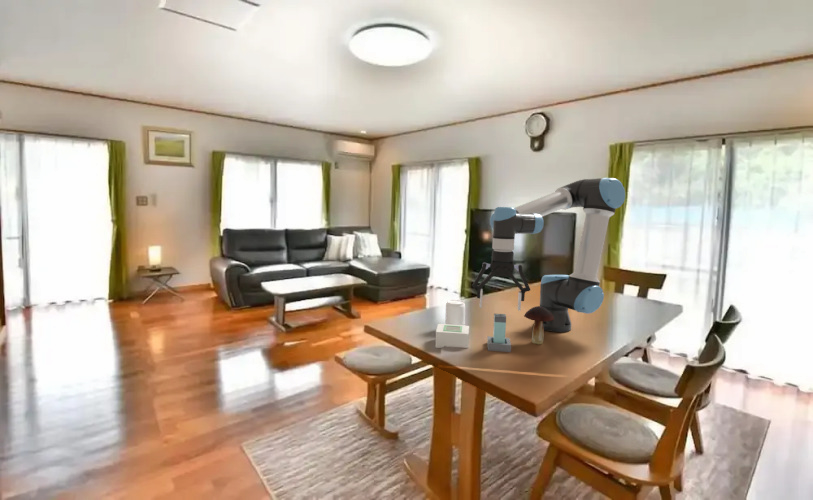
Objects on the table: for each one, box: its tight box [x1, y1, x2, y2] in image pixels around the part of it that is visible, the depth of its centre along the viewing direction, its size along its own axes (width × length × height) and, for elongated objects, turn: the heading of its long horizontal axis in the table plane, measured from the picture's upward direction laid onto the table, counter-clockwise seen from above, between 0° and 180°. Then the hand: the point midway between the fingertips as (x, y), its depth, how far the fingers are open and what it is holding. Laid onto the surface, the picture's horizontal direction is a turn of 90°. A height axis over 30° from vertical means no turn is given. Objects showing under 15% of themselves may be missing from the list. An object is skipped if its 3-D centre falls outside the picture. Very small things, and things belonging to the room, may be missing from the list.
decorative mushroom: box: [523, 305, 554, 345], centre depth 151 cm, size 11×11×15 cm
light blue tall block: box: [492, 313, 507, 344], centre depth 146 cm, size 4×4×12 cm
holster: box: [486, 335, 512, 353], centre depth 147 cm, size 8×8×3 cm
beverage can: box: [444, 299, 466, 326], centre depth 169 cm, size 8×8×12 cm
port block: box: [435, 323, 470, 349], centre depth 151 cm, size 12×10×6 cm
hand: (499, 308), depth 145 cm, fingers open, 13 cm apart
